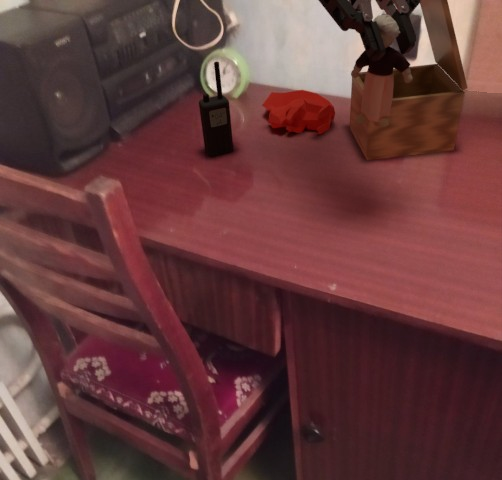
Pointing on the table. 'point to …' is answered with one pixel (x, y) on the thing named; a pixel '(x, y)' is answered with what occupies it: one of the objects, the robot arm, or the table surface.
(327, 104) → the crumpled red cloth
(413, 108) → the chest
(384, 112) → the grandmother figurine
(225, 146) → the walkie-talkie
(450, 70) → the lid
